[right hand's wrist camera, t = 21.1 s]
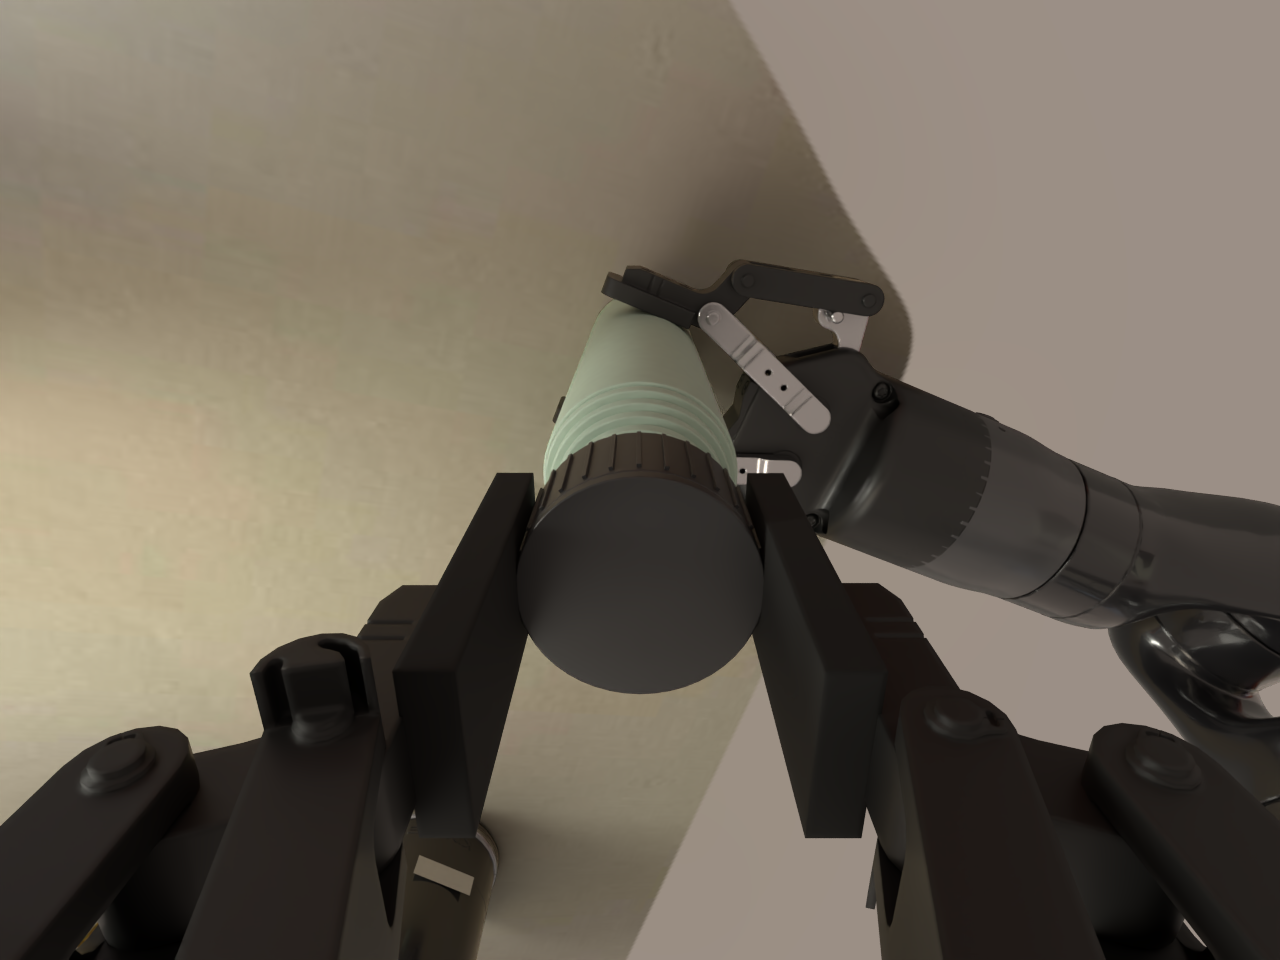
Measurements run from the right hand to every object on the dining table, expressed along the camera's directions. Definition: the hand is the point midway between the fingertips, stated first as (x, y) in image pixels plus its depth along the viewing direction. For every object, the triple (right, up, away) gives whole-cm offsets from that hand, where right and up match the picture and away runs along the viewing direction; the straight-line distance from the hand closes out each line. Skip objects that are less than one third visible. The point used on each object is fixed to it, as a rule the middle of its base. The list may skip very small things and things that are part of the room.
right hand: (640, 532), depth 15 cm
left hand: (-2, +7, +14) cm, 15 cm away
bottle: (0, +8, +20) cm, 22 cm away
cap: (0, -1, -2) cm, 2 cm away
